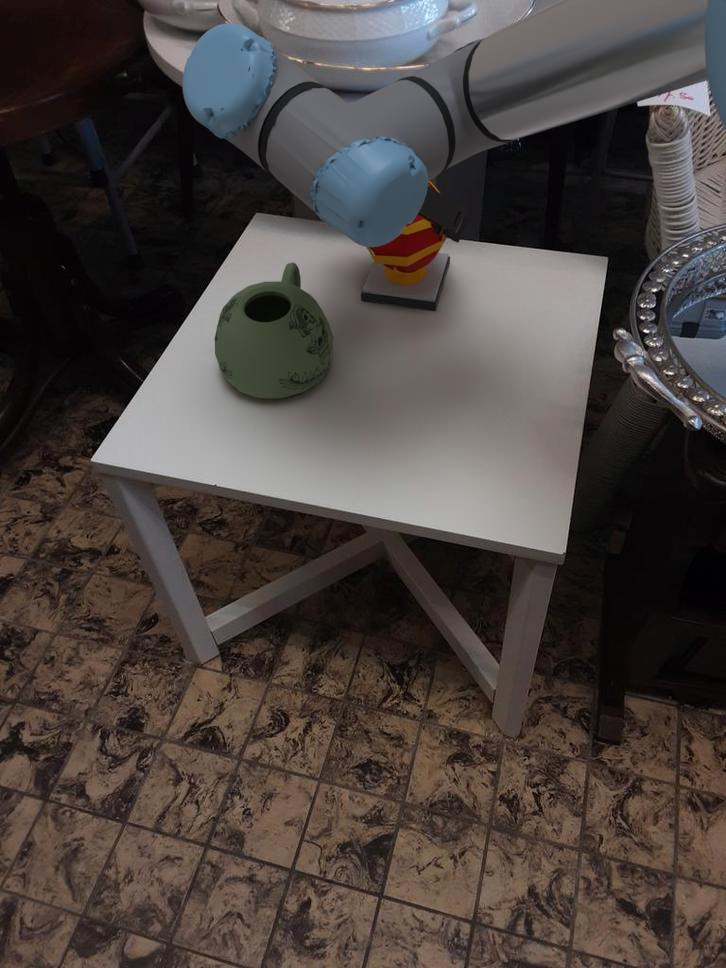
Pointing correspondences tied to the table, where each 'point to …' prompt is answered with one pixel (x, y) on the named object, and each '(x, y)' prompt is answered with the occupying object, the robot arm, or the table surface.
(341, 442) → the table surface
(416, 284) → the scale
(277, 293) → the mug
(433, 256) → the potion bottle
